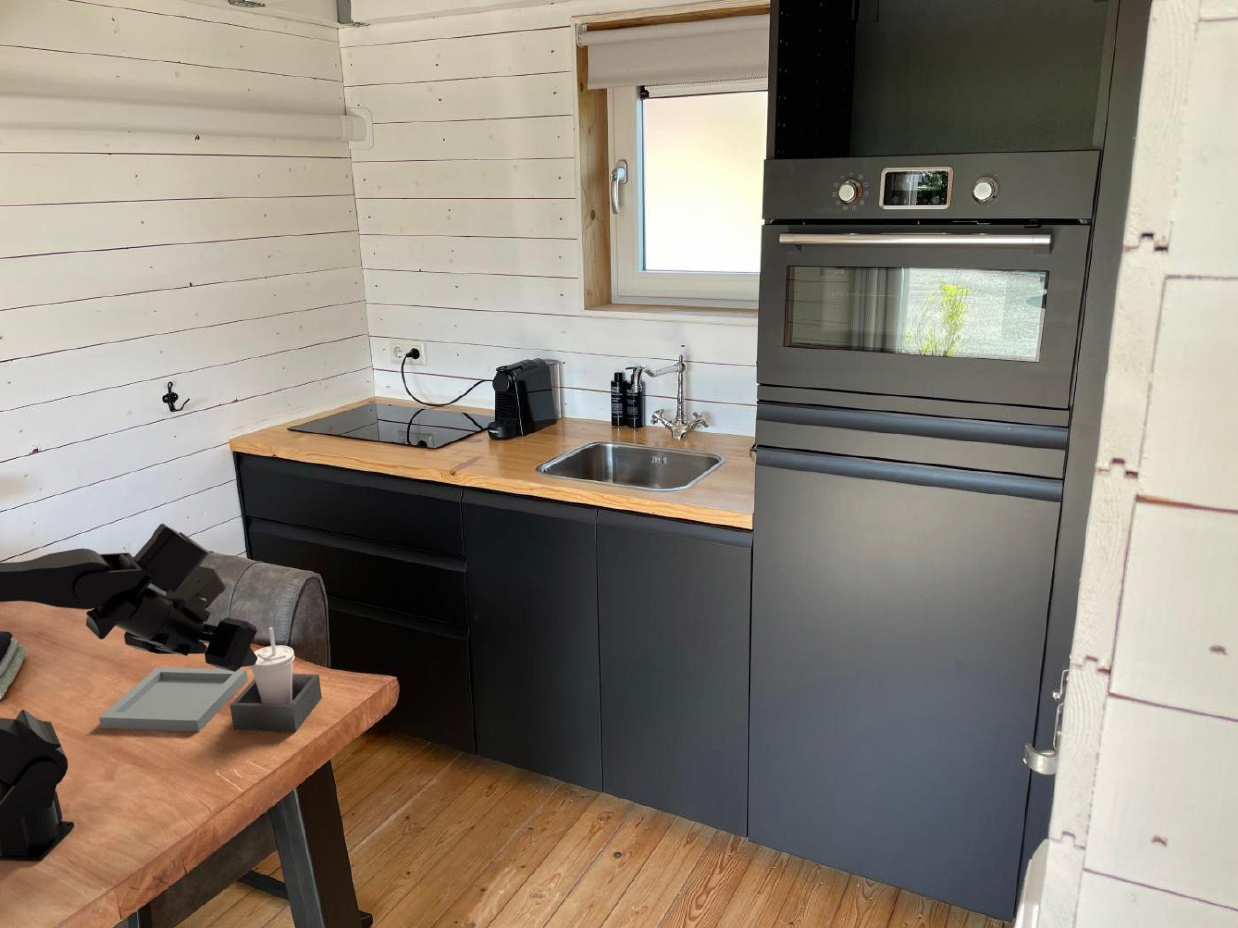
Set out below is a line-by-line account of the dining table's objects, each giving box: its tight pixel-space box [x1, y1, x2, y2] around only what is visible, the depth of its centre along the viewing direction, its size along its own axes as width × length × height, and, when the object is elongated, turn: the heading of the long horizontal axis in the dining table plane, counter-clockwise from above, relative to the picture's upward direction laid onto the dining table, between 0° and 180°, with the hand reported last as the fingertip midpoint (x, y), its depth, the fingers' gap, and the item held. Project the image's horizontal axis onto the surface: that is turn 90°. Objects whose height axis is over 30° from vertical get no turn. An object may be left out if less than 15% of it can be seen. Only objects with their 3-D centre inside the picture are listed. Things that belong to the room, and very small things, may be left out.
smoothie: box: [248, 627, 296, 704], centre depth 137 cm, size 6×6×14 cm
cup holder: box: [229, 673, 322, 733], centre depth 138 cm, size 9×9×4 cm
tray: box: [98, 666, 248, 732], centre depth 142 cm, size 15×15×2 cm
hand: (229, 655), depth 129 cm, fingers open, 9 cm apart
